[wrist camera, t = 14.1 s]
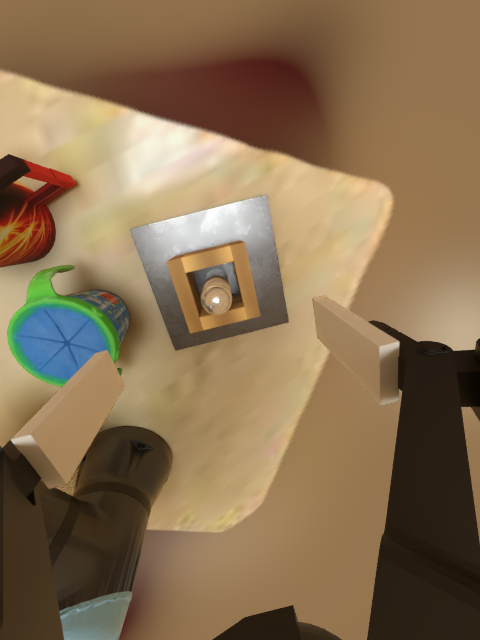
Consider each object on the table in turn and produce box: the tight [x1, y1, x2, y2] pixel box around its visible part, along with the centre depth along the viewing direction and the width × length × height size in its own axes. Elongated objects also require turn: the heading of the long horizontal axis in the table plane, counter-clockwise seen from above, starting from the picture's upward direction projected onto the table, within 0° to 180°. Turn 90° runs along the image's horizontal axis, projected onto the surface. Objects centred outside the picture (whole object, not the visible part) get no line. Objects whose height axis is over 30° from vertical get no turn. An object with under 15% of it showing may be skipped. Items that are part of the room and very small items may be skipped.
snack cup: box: [7, 265, 130, 387], centre depth 30 cm, size 16×10×10 cm
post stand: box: [130, 195, 289, 351], centre depth 29 cm, size 18×18×12 cm
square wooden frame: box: [166, 240, 260, 334], centre depth 31 cm, size 9×9×6 cm
